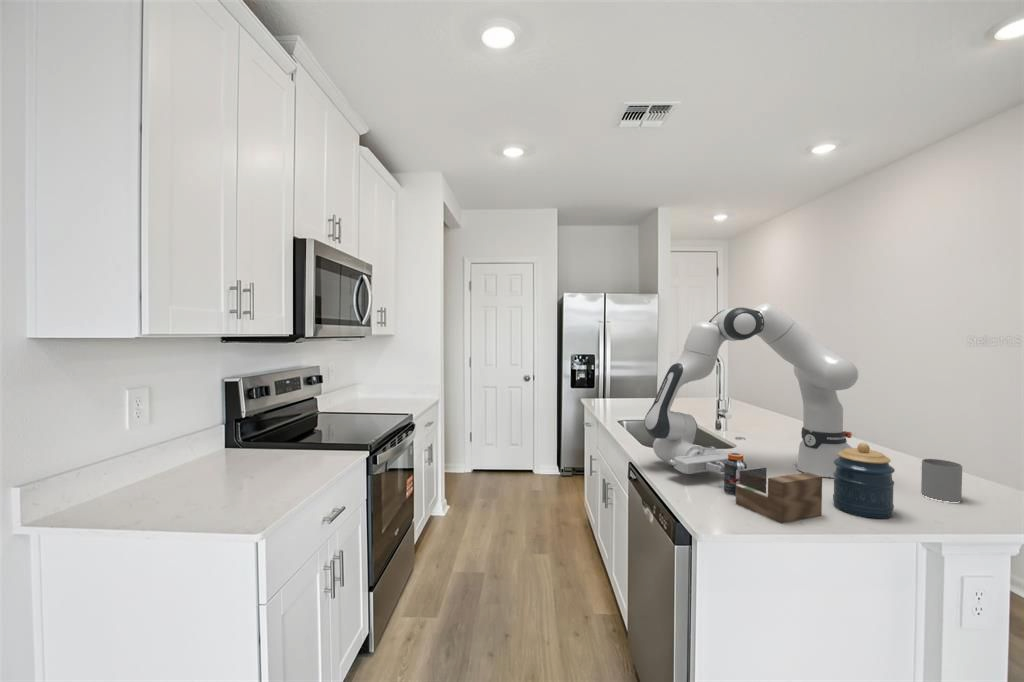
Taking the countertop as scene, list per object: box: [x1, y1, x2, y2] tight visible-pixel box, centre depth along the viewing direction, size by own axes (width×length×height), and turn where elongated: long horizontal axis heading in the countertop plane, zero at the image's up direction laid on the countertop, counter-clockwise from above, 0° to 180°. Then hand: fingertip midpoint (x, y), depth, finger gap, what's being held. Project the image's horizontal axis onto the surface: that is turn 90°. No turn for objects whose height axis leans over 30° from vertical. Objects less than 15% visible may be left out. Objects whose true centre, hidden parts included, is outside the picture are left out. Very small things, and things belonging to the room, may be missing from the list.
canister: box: [832, 442, 896, 519], centre depth 125 cm, size 13×13×18 cm
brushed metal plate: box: [730, 465, 767, 494], centre depth 133 cm, size 12×1×8 cm, turn 111°
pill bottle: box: [723, 452, 748, 496], centre depth 138 cm, size 6×6×11 cm
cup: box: [920, 458, 963, 502], centre depth 134 cm, size 8×8×10 cm
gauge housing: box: [735, 472, 823, 524], centre depth 125 cm, size 14×14×10 cm
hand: (724, 469), depth 142 cm, fingers closed
